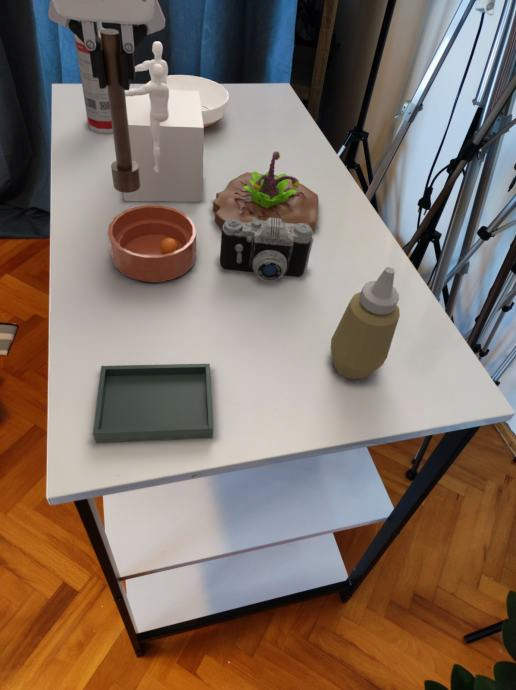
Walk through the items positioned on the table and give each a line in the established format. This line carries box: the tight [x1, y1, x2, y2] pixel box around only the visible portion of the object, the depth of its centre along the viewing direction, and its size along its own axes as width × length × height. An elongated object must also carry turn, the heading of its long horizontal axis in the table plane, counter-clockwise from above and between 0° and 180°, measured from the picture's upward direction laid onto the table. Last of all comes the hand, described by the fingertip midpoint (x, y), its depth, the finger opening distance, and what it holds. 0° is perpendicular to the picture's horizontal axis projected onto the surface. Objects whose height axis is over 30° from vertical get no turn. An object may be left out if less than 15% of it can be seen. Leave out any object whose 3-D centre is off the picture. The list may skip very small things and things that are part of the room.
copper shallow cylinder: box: [107, 204, 197, 283], centre depth 81 cm, size 14×14×6 cm
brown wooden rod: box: [100, 28, 140, 194], centre depth 61 cm, size 4×4×19 cm
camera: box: [219, 217, 314, 282], centre depth 79 cm, size 15×7×10 cm, turn 88°
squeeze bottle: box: [330, 266, 401, 381], centre depth 65 cm, size 8×8×18 cm
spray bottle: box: [73, 22, 113, 134], centre depth 101 cm, size 8×8×25 cm
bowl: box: [146, 74, 230, 128], centre depth 114 cm, size 20×20×6 cm
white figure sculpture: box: [123, 40, 205, 203], centre depth 88 cm, size 15×18×25 cm
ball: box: [160, 238, 179, 254], centre depth 82 cm, size 3×3×3 cm
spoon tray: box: [92, 363, 214, 443], centre depth 63 cm, size 14×10×2 cm
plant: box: [212, 151, 319, 232], centre depth 91 cm, size 20×20×11 cm
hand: (115, 83), depth 58 cm, fingers closed on brown wooden rod, 2 cm apart
